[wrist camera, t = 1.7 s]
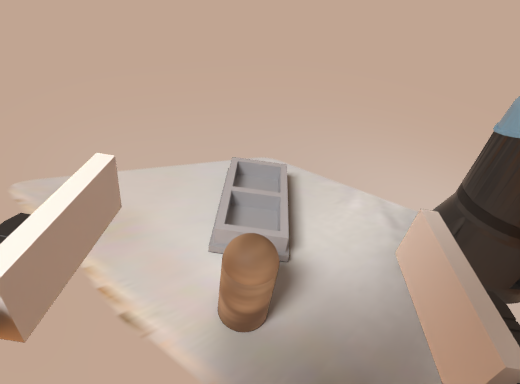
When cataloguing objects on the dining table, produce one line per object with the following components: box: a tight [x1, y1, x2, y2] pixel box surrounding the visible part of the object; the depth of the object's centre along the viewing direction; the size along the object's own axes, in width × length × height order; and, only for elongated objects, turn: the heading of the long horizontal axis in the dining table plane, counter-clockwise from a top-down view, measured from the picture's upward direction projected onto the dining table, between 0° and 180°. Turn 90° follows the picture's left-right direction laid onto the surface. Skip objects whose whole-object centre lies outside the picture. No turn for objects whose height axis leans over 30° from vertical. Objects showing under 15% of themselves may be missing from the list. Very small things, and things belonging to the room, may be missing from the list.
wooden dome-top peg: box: [218, 233, 279, 332], centre depth 30 cm, size 5×5×10 cm
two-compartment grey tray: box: [209, 157, 289, 262], centre depth 45 cm, size 18×10×4 cm, turn 177°
